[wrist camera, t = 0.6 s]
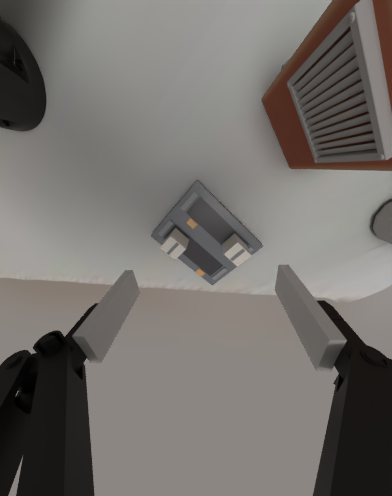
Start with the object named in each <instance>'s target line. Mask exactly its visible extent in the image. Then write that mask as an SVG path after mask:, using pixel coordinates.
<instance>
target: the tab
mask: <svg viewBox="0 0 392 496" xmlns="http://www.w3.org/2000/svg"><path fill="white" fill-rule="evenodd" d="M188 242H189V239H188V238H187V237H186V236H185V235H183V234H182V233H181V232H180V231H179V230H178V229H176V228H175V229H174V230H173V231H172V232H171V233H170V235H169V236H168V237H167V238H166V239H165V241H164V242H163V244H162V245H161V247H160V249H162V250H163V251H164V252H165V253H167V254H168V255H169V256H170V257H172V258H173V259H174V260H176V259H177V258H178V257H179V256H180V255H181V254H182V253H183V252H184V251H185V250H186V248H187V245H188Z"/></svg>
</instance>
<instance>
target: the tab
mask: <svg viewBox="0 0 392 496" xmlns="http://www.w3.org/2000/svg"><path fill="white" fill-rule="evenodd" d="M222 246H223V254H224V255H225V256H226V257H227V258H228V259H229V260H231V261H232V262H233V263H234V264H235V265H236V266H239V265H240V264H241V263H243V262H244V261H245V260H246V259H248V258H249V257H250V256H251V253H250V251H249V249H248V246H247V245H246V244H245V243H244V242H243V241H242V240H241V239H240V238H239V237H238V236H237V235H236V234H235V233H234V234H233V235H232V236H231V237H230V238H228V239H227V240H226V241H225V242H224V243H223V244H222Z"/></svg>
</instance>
